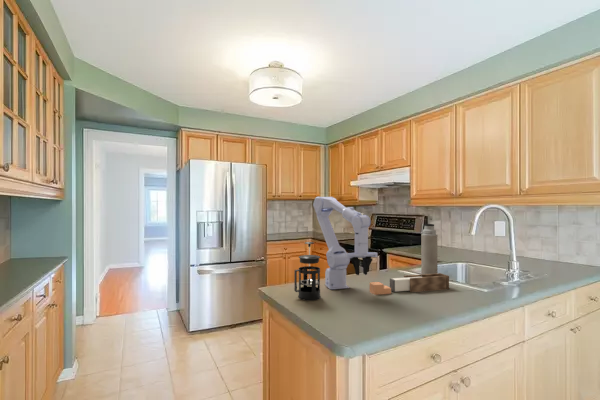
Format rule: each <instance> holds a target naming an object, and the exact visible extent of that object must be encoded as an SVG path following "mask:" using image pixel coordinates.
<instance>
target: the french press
mask: <svg viewBox="0 0 600 400" xmlns="http://www.w3.org/2000/svg"><path fill="white" fill-rule="evenodd" d="M304 244H307V245H308V254H303V255H302V254H301V255H299V256H298V258H299V263H300V264H305V265H306V264H307V265H308V266H307V265H306V266H304V265H303V266H300V267H298V269H294V279H293V280H294V282H293V283H294V284H293V285H294V287H293V289H294V292H295V293H298V295H297V297H298V300H299V299H300V300H301V301H309V302H312V301H318V300H320V299H321V285H320V284H321V283H320V282H321V274H320V273H321V268H320V267H318V266H311V264H312V265H313V264H318V263H319V262H320V259H321V256H319V255H316V254H311V253H310V252H311V245H313V244H315V242H314V241H306V242H304ZM297 272H298V276H297ZM302 274H303V276H302ZM316 274H317V275H316ZM297 277H298V278H297ZM302 277H303V279H301V278H302ZM297 279H298V280H297ZM297 282H298V283H297ZM297 285H298V287H297ZM297 288H298V289H297Z"/></svg>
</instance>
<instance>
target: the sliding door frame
mask: <svg viewBox="0 0 600 400" xmlns="http://www.w3.org/2000/svg"><path fill="white" fill-rule="evenodd" d="M407 277H418V278H410V290H409V292H410V293H420V292H429V291H430V292H431V291H432V292H433V291H442V290H443V291H444V290H450V275H448V274H444V273H441V272H438V273H436V274H406V275H405V274H404V275H403V278H407Z"/></svg>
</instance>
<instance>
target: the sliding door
mask: <svg viewBox="0 0 600 400" xmlns="http://www.w3.org/2000/svg"><path fill="white" fill-rule="evenodd" d="M410 278H418V277H407V278H404V277H394V278H389V287H390V288H391V292H393V293H395V292H407V291H408V292H410Z"/></svg>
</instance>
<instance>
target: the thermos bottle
mask: <svg viewBox="0 0 600 400" xmlns="http://www.w3.org/2000/svg"><path fill="white" fill-rule="evenodd" d="M420 236H421V245H420V247H421V253H420V255H421V256H420V258H421V265H420V267H421V271H420V272H421V274H436V273H438V274H439V272H438V268H439V267H438V234H437V230H436V229H435V224H433V223H425V224H424V228H423V229H422V233H421V235H420Z"/></svg>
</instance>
